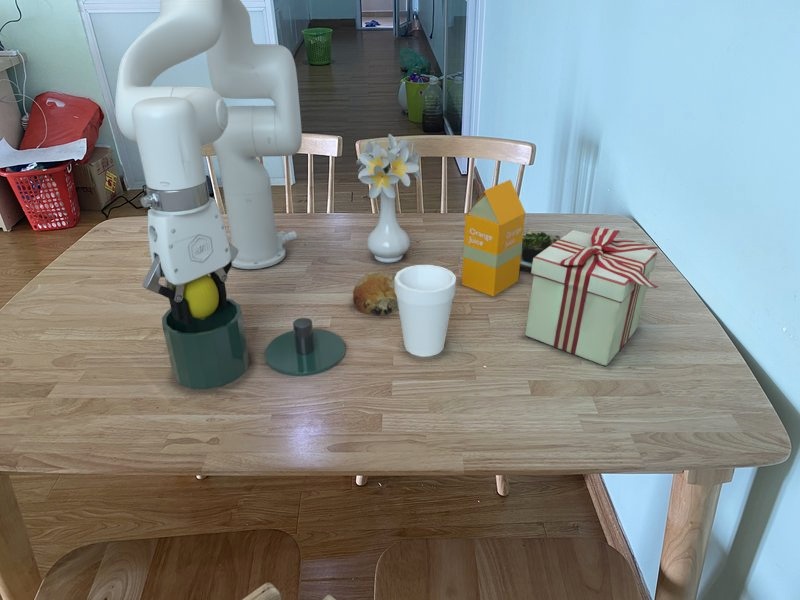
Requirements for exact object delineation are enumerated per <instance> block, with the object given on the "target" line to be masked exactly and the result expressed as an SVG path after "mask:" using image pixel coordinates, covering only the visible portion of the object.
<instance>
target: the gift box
mask: <svg viewBox="0 0 800 600" xmlns="http://www.w3.org/2000/svg"><path fill="white" fill-rule="evenodd" d="M619 233H620V230H616V229H611V228H606V227H605V228H604V227H599V226H596V227H595V228H594V230H593V233H592V234H591V233H587V232H583V231H579V230H575V229H571V230H570V231H569V232H567V233H566V234H564V235H563V237H561V238H560V239H559V240H557V241H556V242H555V243H553V244H552V245H550V246H549V247H548V248H546V249H545V250H544V251H542V252H541V253H539V254H538V255H537V256H535V257H534V258H533V263H532V270H531V272H530V274H531V275H532V276H533V277H532V284H531V290H530V298H529V304H528V311H527V319H526V326H525V333H524V335H525V336H526V337H528V338H531V339H533V340H536V341H539V342H542V343H543V344H547V345H549V346H552V347H554V348H556V349H559V350H562V351H565V352H567V353H569V354H571V355H572V354H573V355H575V356H578V357H580V358H583V359H586V360H588V361H591V362H594V363H596V364H598V365H602V366H605V367H606V366H608V365H609V364H610V362H611V361H613V360H614V358H615V357H616V355H617V354H618V353H619V352H620V351H621V350H622V349H623V347H624V345H626V344H627V343H628V341H629V340H630V339H631V338H632V336H633V335H634V333H635V332H636V331H637V328H638V325H639V320H640V317H641V312H642V307H643V304H644V299H645V297H646V291H647V288H650V289H651V288H652V289H656V288H659V285H655V284H654V283H652V282H651V281H650V280H649V279H650V276H651V275H650V274H651V272H652V271H653V270H654V268H655V265H656V261H657V256H658V252H657V251H655V249H656V250H657V249H660V247H658V246H654V245H653V246H652V245H649V244H646V243H645V244H644V243H641V242H638V241H634V240H626V239H622V240H621V239H620V240H615V238H616V237H617V236H618V234H619Z"/></svg>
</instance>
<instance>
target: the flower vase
mask: <svg viewBox="0 0 800 600" xmlns="http://www.w3.org/2000/svg"><path fill="white" fill-rule="evenodd" d="M387 136H388V140H389V145H387V149H388V151H387V150H386V149H385V148H384V147H383V148H382V147H381V146H380V144H377V138H375V139H374V141H373V143H372V142H371V141H370V140H368V141H367V142H366V145H365V153H363V152H362V153H360V154H359V155H358V159H357V160H356V163H355V164H356V165H360V167H359V168H358V170H357V172H358V176H357V179H359V181H360V182H361V183H362V184H365V185H371V187H370V189H369V190H368V197H369V199H370V200H371V199H373V200H375V199H376V198H377V197H379V195H380V200H379V201H380V202H379V203H380V204H379V207H380V208H379V218H378V221H377V224H376V226H375V228H374V229H372V230H371V231H370V233H369V234H368V235H367V238H366V248H367V250H368V251H369V252H370V253H371V254H372V255H373V257H374V259H375V260H376V261H378V262H380V263H385V264H386V263H388V264H390V263H391V264H392V263H396V262H399V261H401V260H402V259H403V257H404V254H406V253H407V251H408V250H409V249H410V247H411V239H410V237H409V234H408V233H407V232H406V230H404V229H403V227H401V225H400V223H399V220H398V217H397V211H396V210H397V209H396V183H397V184H398V182H399V181H401V183H402V184H403V185H404V186H405V187H410V186H411V179H410V176H409V175H408V174H413V176H414V178H415V179H416V180H417V181H419V179H421V178H422V175H421V172H420V165H419V164H418V163H419V159H420V155H419V153H418V152H415V142H412V145H411V148H410V151H409V145H410V144H409V141H408V140H407V139H401V140H400V141H399V142H398V143H397V140H396V138H395V137H394V136H393V135H392V134H391V133H388V135H387ZM389 164H390V165H389ZM389 166H390V167H389Z"/></svg>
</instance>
